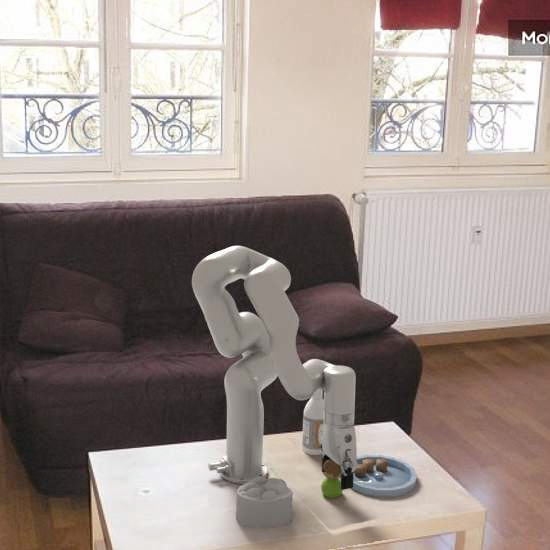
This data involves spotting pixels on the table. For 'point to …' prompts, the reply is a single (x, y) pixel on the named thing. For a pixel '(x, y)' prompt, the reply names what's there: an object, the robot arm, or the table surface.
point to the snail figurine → (332, 479)
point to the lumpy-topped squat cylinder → (264, 503)
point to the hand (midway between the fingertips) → (337, 479)
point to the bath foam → (313, 424)
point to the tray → (386, 478)
